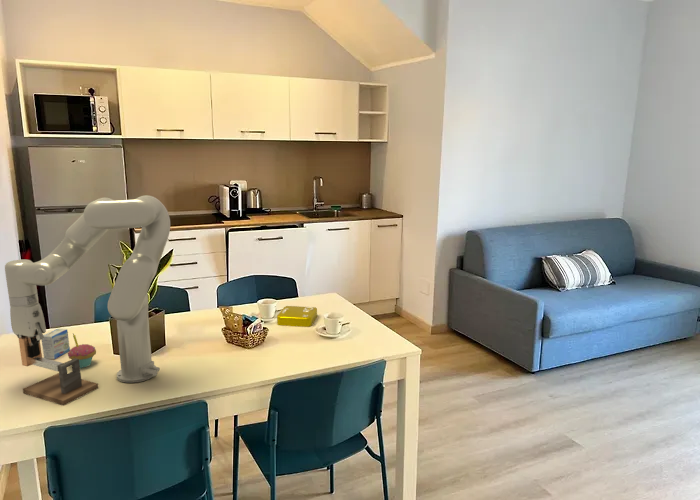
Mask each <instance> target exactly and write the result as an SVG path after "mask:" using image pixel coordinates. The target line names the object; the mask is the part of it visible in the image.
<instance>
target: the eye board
mask: <svg viewBox="0 0 700 500" xmlns="http://www.w3.org/2000/svg"><path fill="white" fill-rule="evenodd" d="M62 363H63V364H60V365H58V369H59V371H58V372H57V373H55V374H52V375H50V376H49V377H47V378H44V379H42V380H39V381H37V382H35V383H32V384H30V385H28V386H26V387H23V388H22V393H23V394H24V395H27V396H31V397H35V398H38V399H41V400H43V401H47V402H51V403H54V404H56V405H57V404H58V405H61V406H66V405H68V404H70V403H71V402H73V401H75V400H77V398H78V399H80V398H82V397H83V396H85V395H87V394H89V393H91V392H93V391H95V390H98V389H99V383H98V382H93V381H90V380H86V379H82V373H81V368H80V364H79V359H77V358H75V359H69V360H68V361H65V362H62ZM69 367H71V372H68V368H69Z"/></svg>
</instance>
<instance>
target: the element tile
mask: <svg viewBox="0 0 700 500" xmlns="http://www.w3.org/2000/svg"><path fill="white" fill-rule="evenodd" d="M317 318H318V309H317V307H315V306H299V305H285V306H284V307H282V309H281V310H280V312H279V313H278V314H277V316H276V324H277V326H281V327H300V328H310V327H312V326H313V324H314V322H315V321H316V319H317Z"/></svg>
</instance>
